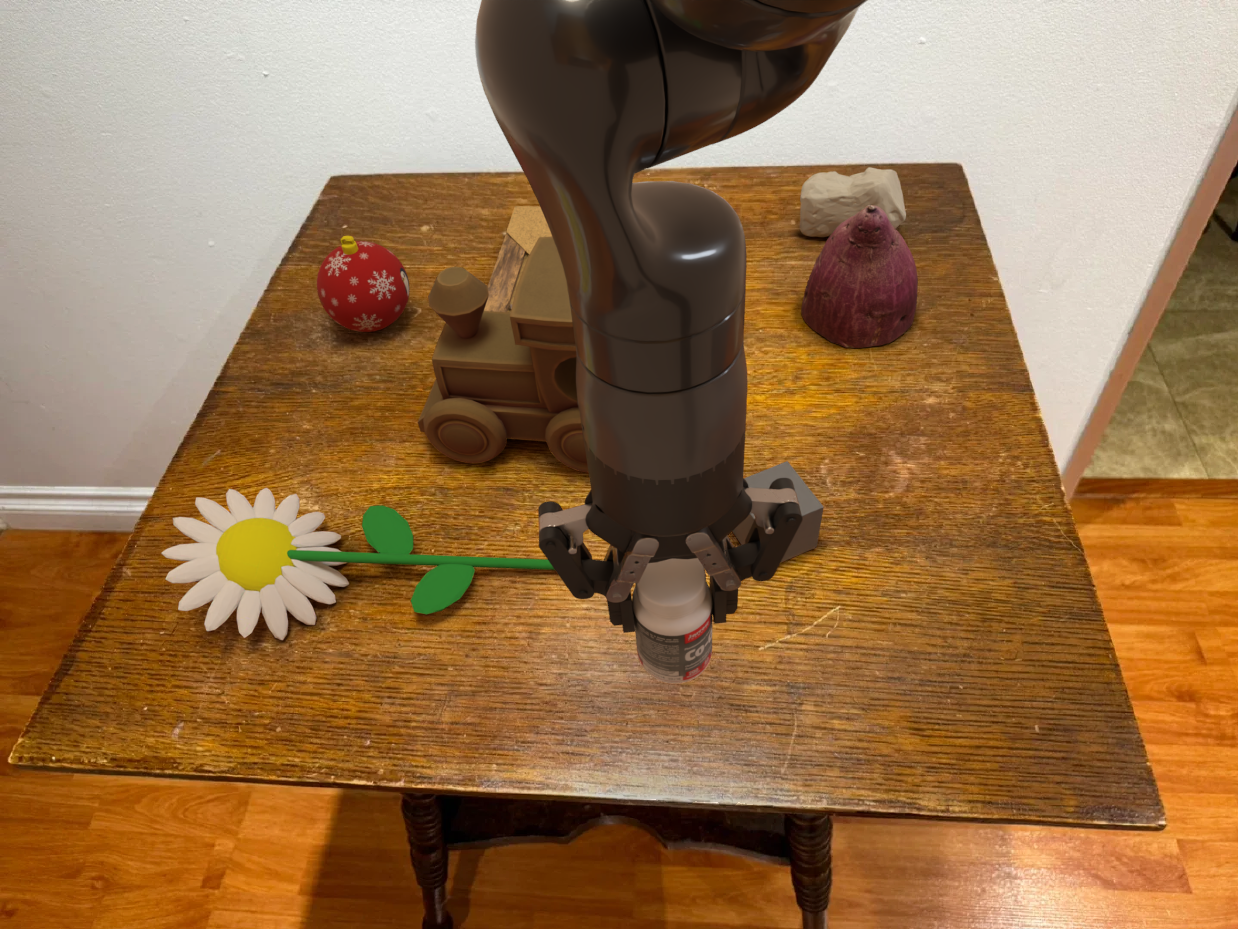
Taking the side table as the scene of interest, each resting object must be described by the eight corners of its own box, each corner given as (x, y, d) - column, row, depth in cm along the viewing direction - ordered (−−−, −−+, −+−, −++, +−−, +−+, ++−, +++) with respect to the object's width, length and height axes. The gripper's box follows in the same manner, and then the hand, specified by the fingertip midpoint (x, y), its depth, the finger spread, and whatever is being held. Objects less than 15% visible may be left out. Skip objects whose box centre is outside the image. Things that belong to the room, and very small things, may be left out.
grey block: (817, 547, 68) (824, 506, 64) (759, 572, 66) (763, 532, 63) (782, 501, 71) (787, 460, 67) (727, 524, 70) (729, 483, 66)
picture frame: (517, 219, 99) (467, 364, 84) (514, 205, 98) (463, 350, 82) (683, 222, 97) (664, 371, 81) (683, 208, 95) (663, 357, 80)
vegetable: (883, 381, 83) (919, 285, 70) (782, 338, 86) (798, 238, 72) (927, 298, 87) (970, 191, 73) (829, 259, 89) (852, 149, 76)
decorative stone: (900, 180, 97) (924, 141, 87) (889, 262, 96) (912, 232, 86) (799, 169, 98) (811, 129, 88) (788, 250, 97) (799, 220, 87)
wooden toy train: (669, 389, 80) (665, 231, 67) (652, 486, 73) (643, 329, 60) (457, 374, 83) (414, 221, 70) (420, 466, 76) (365, 314, 63)
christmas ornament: (344, 295, 92) (312, 211, 85) (425, 293, 91) (401, 208, 84) (323, 351, 86) (287, 266, 79) (409, 349, 86) (382, 263, 78)
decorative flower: (580, 518, 74) (209, 503, 72) (582, 483, 70) (191, 467, 68) (575, 660, 66) (159, 647, 64) (577, 629, 62) (135, 615, 60)
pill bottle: (698, 695, 54) (697, 622, 48) (626, 672, 56) (616, 598, 49) (722, 631, 57) (723, 554, 51) (653, 610, 58) (646, 533, 52)
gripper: (505, 492, 38) (555, 684, 51) (839, 458, 38) (806, 658, 51) (507, 374, 43) (552, 575, 56) (802, 343, 43) (780, 552, 56)
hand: (673, 614), depth 53 cm, fingers closed on pill bottle, 4 cm apart
